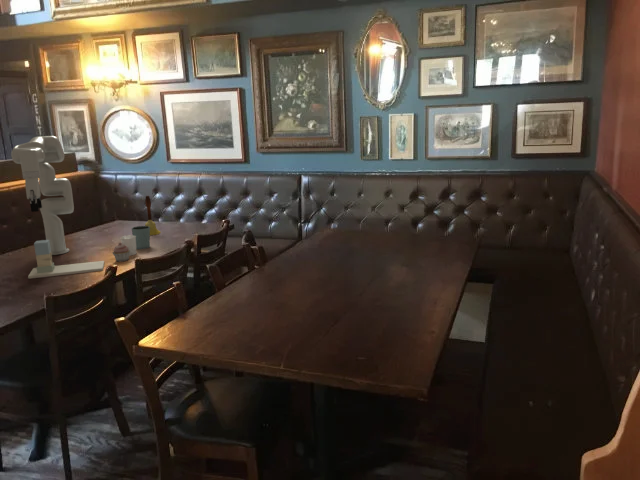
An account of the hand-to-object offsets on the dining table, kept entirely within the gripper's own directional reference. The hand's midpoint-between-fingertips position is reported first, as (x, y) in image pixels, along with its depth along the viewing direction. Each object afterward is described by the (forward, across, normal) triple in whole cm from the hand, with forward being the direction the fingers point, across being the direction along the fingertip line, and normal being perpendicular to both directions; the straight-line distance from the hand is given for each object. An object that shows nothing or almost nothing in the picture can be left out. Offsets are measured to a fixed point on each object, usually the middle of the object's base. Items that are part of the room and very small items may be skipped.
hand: (36, 209), depth 263 cm
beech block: (+28, 0, 0) cm, 28 cm away
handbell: (+32, -72, +53) cm, 95 cm away
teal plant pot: (+32, -35, +47) cm, 67 cm away
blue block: (+22, 0, 0) cm, 22 cm away
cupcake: (+32, -9, +36) cm, 49 cm away
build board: (+32, 0, +10) cm, 34 cm away
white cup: (+32, -21, +40) cm, 56 cm away
